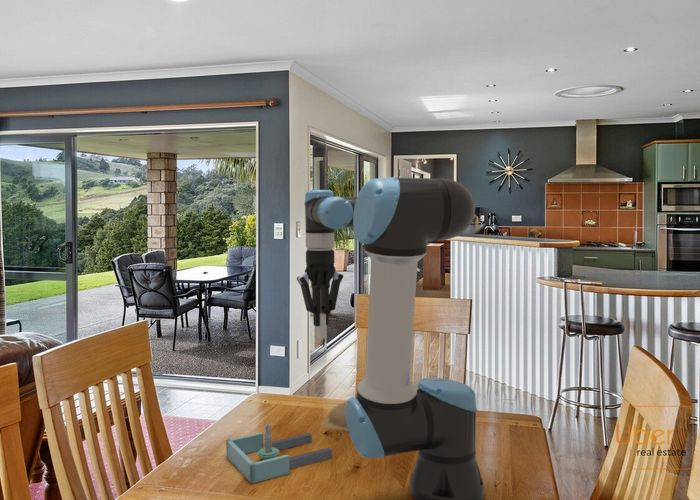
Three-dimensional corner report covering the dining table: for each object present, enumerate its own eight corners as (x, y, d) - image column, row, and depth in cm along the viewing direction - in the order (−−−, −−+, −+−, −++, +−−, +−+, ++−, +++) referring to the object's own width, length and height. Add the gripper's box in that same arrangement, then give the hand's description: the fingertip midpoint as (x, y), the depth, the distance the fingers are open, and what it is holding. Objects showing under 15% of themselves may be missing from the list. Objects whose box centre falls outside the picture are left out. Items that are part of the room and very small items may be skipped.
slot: (332, 457, 138) (332, 449, 137) (285, 470, 131) (285, 461, 131) (309, 440, 148) (309, 432, 148) (265, 451, 142) (265, 443, 142)
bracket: (289, 473, 130) (289, 456, 129) (251, 483, 125) (250, 465, 125) (262, 448, 143) (261, 432, 143) (226, 456, 139) (226, 440, 138)
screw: (283, 460, 136) (268, 468, 133) (268, 454, 140) (253, 462, 136) (283, 422, 136) (267, 429, 132) (268, 418, 139) (252, 424, 135)
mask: (324, 390, 168) (429, 396, 163) (324, 414, 168) (429, 419, 163) (312, 407, 153) (427, 413, 148) (313, 432, 154) (427, 439, 149)
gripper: (334, 247, 159) (335, 332, 161) (291, 249, 153) (292, 338, 154) (348, 248, 153) (349, 337, 155) (304, 251, 146) (305, 343, 148)
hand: (321, 337), depth 155 cm, fingers closed
